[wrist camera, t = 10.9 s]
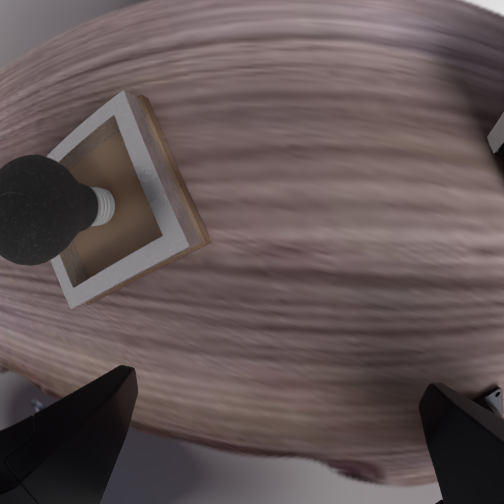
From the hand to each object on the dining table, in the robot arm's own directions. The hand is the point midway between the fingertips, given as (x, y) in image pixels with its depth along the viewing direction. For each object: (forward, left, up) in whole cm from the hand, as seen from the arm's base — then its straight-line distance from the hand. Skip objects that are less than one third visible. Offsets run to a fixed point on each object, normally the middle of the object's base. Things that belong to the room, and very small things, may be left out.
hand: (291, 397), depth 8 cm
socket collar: (+11, +10, -11) cm, 18 cm away
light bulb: (+11, +9, -10) cm, 18 cm away
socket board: (+11, +10, -11) cm, 18 cm away
